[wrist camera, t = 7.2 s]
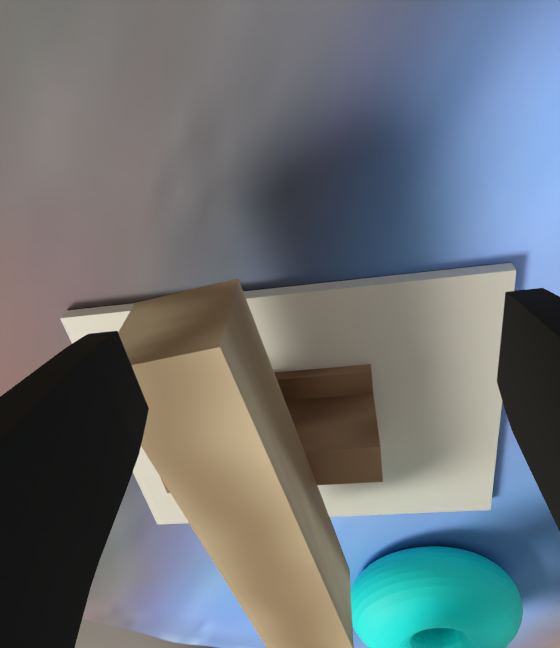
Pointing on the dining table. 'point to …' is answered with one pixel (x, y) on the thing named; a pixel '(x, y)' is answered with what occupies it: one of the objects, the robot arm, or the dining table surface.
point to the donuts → (435, 601)
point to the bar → (239, 463)
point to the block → (335, 422)
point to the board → (384, 379)
